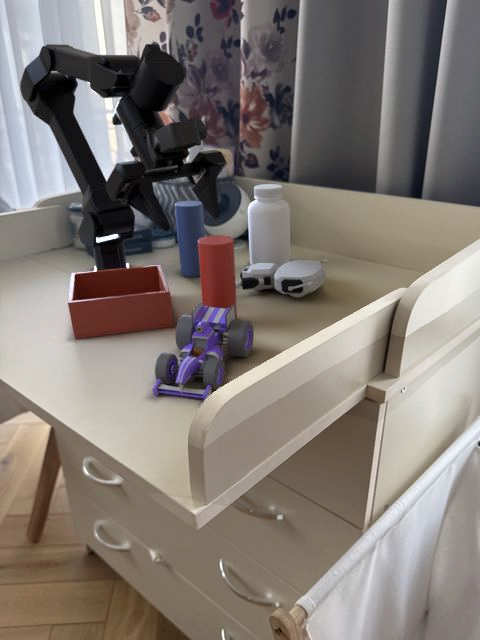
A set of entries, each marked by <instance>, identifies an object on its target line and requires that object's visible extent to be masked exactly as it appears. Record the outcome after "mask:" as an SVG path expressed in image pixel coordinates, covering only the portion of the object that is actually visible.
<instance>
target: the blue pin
mask: <svg viewBox="0 0 480 640" xmlns="http://www.w3.org/2000/svg"><path fill="white" fill-rule="evenodd" d="M174 211H175V222H176V234H177V245H178V255H179V256H178V257H179V267H180V268H179V269H180V274H181V275H182V276H184V277H187V278H197V277H200V263H199V250H198V240H199V239H200V238H202V237H206V232H205V231H206V230H205V229H206V228H205V215H204V205H203V204H202V203H201V201H200V200H181V201H177V202H175V203H174Z"/></svg>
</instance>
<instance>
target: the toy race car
mask: <svg viewBox="0 0 480 640" xmlns="http://www.w3.org/2000/svg"><path fill="white" fill-rule="evenodd" d="M224 332H227V334H224ZM254 334H255V333H254V325H253V322H252V321H251V320H245V319H237V320H236V313H235V304H233V305H232V306H231V307H230V308H227V309H223V308H213V307H209V306H203V301H202V300H201V301H199V302H198V303H197V304H196V305H195V306H194V308H193V309H192V310H191V314H182V315H181V316H180V317H179V319H178V321H177V324H176V328H175V343H176V347H177V348H178V350H180V353H179V354H178V357H177V355H176V354H174V353H170V352H162V353H160V354H159V355H158V357H157V358H156V362H155V367H154V376H155V379H156V382H155V384H154V386H153V387H152V394H153V396H158V395H159V393H161V394H168V395H175V396H182V397H188V398H189V397H190V398H196V399H203V402H204V400H205V399H206V398H207V397H208V396H209V395H210V394H211V393H212V394H213V391H217V390H216V389H218V388H219V387H221V388H222V386H223V384H224V380H225V376H226V375H225V374H226V373H225V372H226V370H225V369H226V366H225V365H226V355H224V350H223V349H222V347H223V346H226V349H227V353H228V355H229V356H231V357H241V358H248V357H249V356H250V354H251V351H252V348H253V344H254ZM225 342H226V343H225ZM179 362H180V363H179ZM196 378H198V379H202V380H203V386H204V388H205V389H195V388H187V387H184V386H185V384H186V382H192V381H194V380H195V379H196ZM174 382H175V384H176V385H178V386H171V384H173V383H174Z"/></svg>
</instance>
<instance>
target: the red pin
mask: <svg viewBox="0 0 480 640" xmlns="http://www.w3.org/2000/svg"><path fill="white" fill-rule="evenodd" d="M198 250H199V263H200V276H199V277H200V290H201V291H200V292H201V301H203V306H209V307H213V308H223V309H227V308H230V307H231V306H232V305H233V304H235V313H236V320H238V309H237V288H236V282H235V281H236V264H235V263H236V261H235V240H234V238H233V237H231V236H229V235H223V234H213V235H205V237H202V238H200V239H199V240H198Z"/></svg>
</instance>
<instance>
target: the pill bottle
mask: <svg viewBox="0 0 480 640" xmlns="http://www.w3.org/2000/svg"><path fill="white" fill-rule="evenodd" d="M283 194H284V187H283V185H281V184H279V183H278V184H277V183H264V184H258V185H255V186H254V187H253V195H254V197H253V199H255V200H253V201H251V202H250V203H249V205H248V207H247V223H248V247H249V263H250V266H251V265H253V264H256V263H274V264H276V265H277V266H278V267H280V266H282V265H283V264H285V263H287V262H290V261H291V207H290V205H289V203H288V202H287V201H286V200H284V199H283V197H284V195H283Z"/></svg>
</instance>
